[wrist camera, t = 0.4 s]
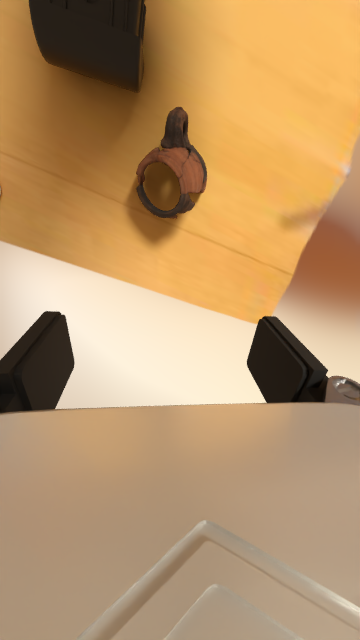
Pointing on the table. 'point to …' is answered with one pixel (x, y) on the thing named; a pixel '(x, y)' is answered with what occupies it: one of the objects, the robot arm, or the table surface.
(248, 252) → the table surface
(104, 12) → the end cap
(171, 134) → the brown piece
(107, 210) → the table surface
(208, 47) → the table surface
